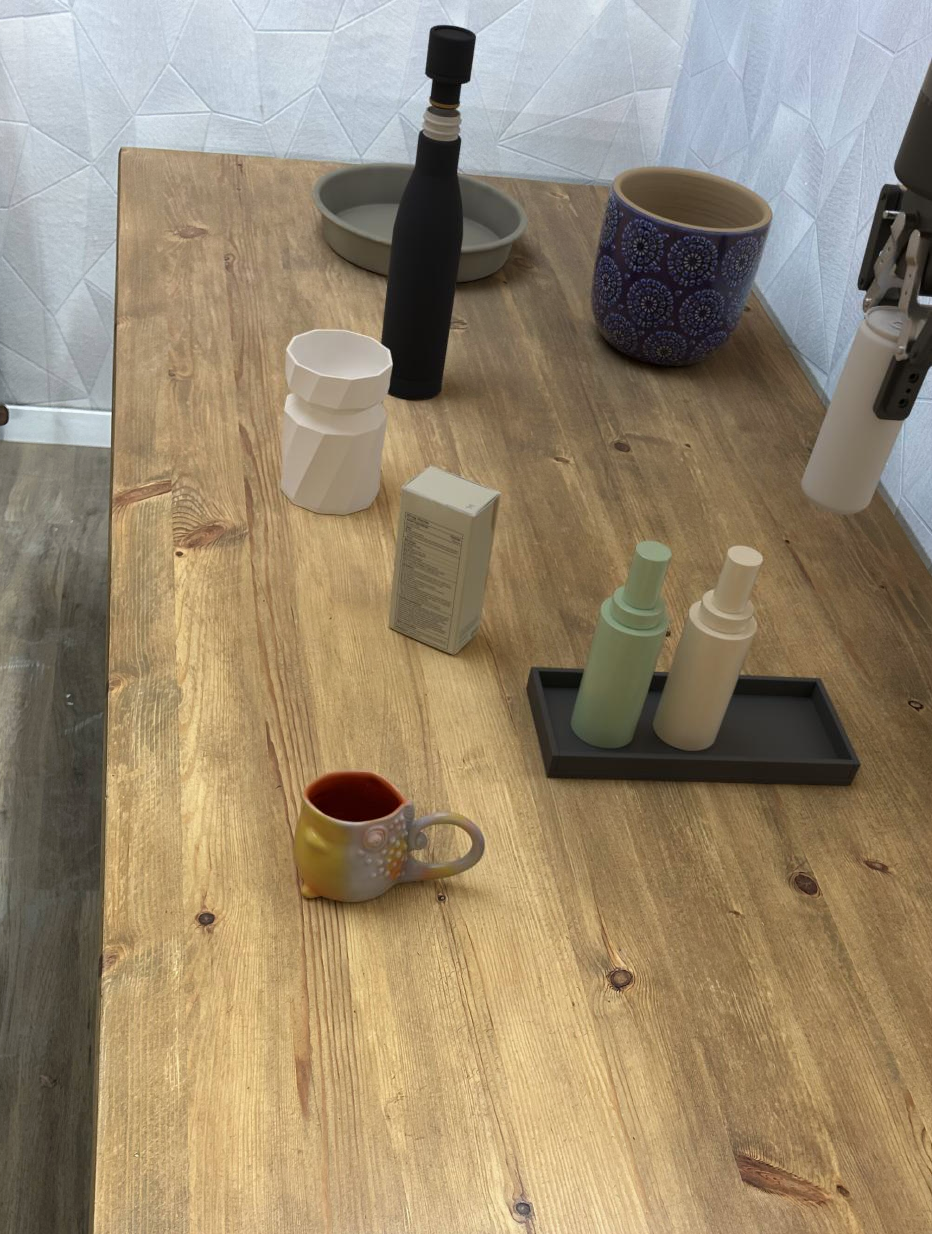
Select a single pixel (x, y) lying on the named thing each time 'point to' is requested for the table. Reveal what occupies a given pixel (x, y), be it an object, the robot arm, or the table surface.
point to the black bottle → (429, 228)
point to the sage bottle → (624, 653)
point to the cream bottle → (710, 656)
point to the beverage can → (856, 421)
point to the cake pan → (368, 206)
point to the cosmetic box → (442, 558)
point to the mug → (367, 838)
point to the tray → (743, 750)
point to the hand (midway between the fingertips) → (875, 394)
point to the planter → (676, 262)
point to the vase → (334, 420)
